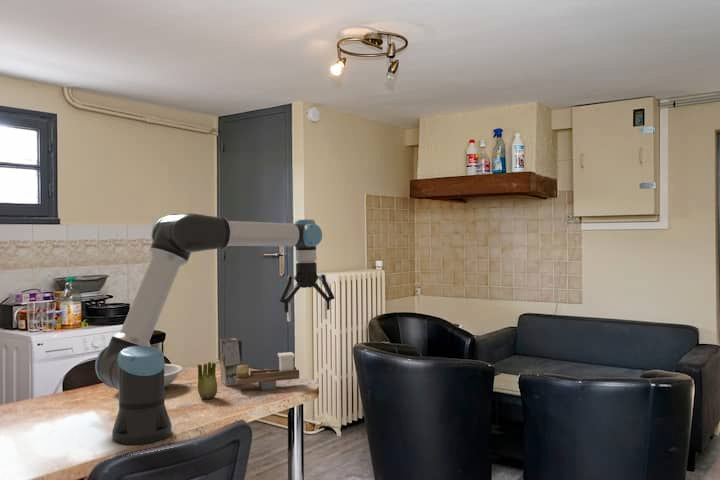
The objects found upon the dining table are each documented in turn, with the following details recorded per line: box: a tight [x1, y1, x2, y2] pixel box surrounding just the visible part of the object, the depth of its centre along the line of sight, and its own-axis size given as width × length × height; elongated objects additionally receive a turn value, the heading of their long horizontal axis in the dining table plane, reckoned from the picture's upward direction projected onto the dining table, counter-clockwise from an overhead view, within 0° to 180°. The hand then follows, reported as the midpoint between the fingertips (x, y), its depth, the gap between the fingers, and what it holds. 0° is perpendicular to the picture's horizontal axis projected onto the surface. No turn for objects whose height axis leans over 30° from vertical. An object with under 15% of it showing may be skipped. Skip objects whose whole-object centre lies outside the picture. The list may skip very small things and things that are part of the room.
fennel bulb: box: [197, 361, 218, 400], centre depth 199 cm, size 6×5×12 cm
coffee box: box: [219, 337, 243, 387], centre depth 221 cm, size 9×6×16 cm
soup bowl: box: [164, 363, 184, 388], centre depth 213 cm, size 24×24×7 cm
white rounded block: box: [277, 351, 296, 371], centre depth 214 cm, size 5×5×7 cm
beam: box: [235, 364, 300, 392], centre depth 212 cm, size 7×22×8 cm, turn 109°
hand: (307, 320), depth 217 cm, fingers open, 13 cm apart
